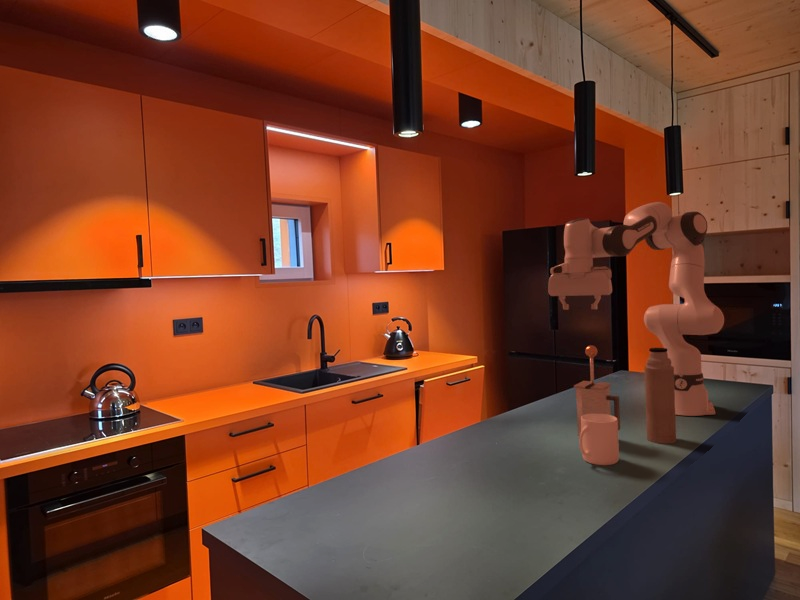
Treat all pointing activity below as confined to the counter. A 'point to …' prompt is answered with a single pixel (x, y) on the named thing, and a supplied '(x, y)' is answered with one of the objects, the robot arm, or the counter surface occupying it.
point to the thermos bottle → (660, 397)
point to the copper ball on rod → (591, 360)
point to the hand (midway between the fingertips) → (579, 309)
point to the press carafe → (595, 401)
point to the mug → (599, 439)
